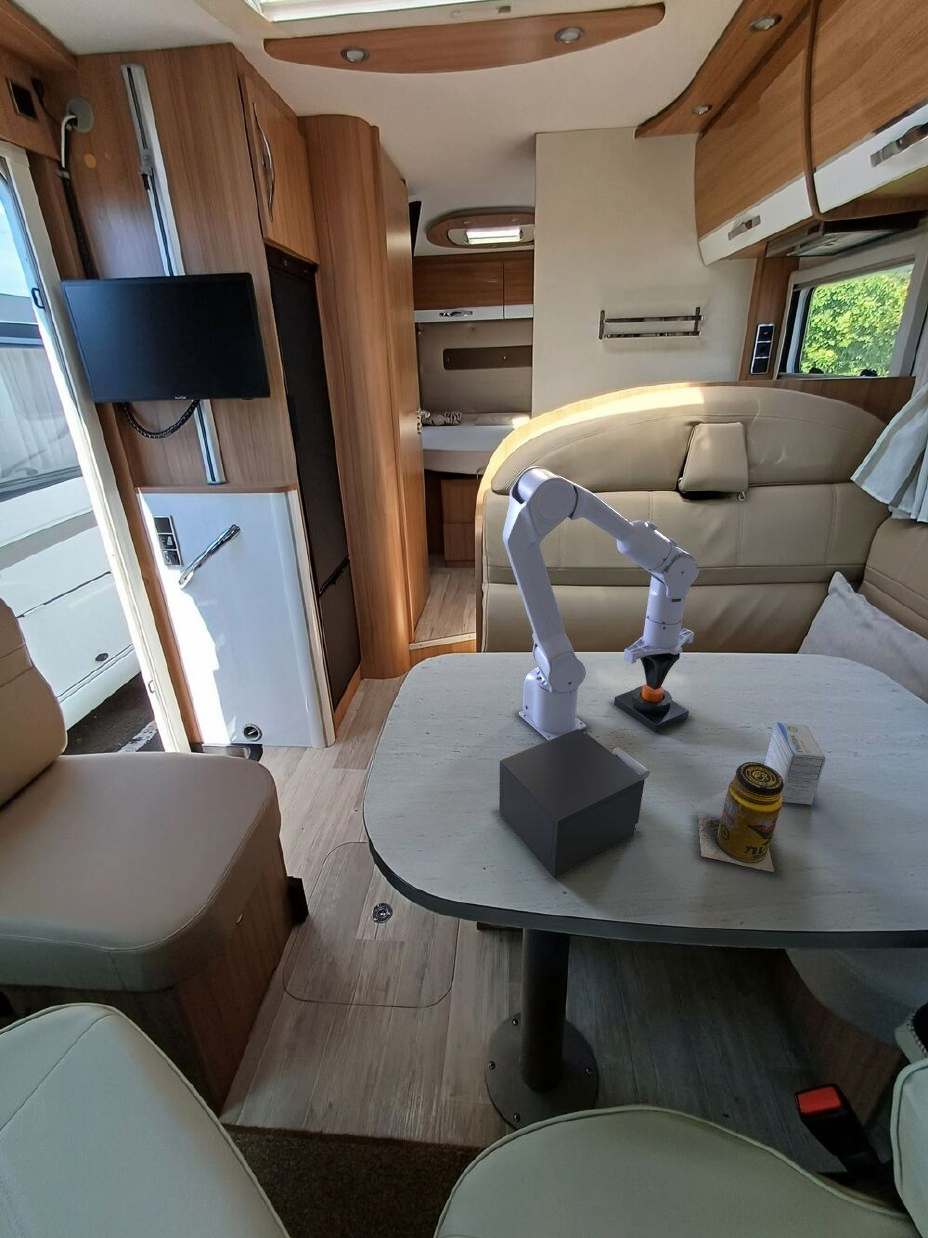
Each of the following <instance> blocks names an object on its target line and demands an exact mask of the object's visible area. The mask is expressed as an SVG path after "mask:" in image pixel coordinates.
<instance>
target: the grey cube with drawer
mask: <svg viewBox="0 0 928 1238" xmlns="http://www.w3.org/2000/svg"><path fill="white" fill-rule="evenodd" d="M585 734H586V733H584V732H583V731H582V730H579V729H576V730H573V731H571V732H568V733H566V734H563V735H561V736H559V737H556V738H554V739H551V740H549V741H548V740H546V741H544V742H541V743H540V744H539V743H538V744H537V745H534V746H531V747H529V748H527V749H524V750H521V751H520V752H517V753H514V754H512V755H510V756H508V757H505V758H502V759H500V760H499V799H498V800H499V807H498V809H499V815H500V816H501V817H502V819H504V821H505V822H506V823H507V824H508V825H509V827H510V828H511V829H512V830H513V832H515V834H516V835H517V836H518V837H519V838H520V840H521V842H522V843H524V845H525V846H526V847H527V848H528V849H529V850H530V851H531V853H532V854H533V855H534V856H535V857H536V859H537V860H538V861H539V862H540V864H541V865H542V866H543V867H544V868H545V869H546V870H547V872H548V873H549V874H550V875H551V876H552V877H553V878H554V879H555V878H557V877H559V876H561V875H563V874H565V873H566V872H568V871H570V870H572V869H574V868H576V867H577V866H579V865H581V864H583V863H585V862H587V861H589V860H590V859H592V858H594V857H596V856H598V855H600V854H601V853H603V852H605V851H607V850H609V849H611V848H612V847H614V846H616V845H618V844H620V843H622V842H623V841H625V840H627V839H628V838H631V837H633V836H634V835H635V831H636V825H637V824H636V819H637V813H638V806H639V800H640V793H641V786H642V785H641V784H642V779H641V778H639V777H638V776H637V775H636V774H634V773H633V772H632V771H631V770H629V769H628V768H627V767H626V766H624V765H623V764H622V763H621V762H619V761H618V760H617V759H616V758H614V757H613V756H612V755H611V754H609V753H608V752H607V751H605V750H604V749H603V748H602V747H600V746H599V745H598V744H597V743H595V742H594V741H593V740H592V739H590V738H589V737H588V736H587V735H585Z"/></svg>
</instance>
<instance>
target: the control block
mask: <svg viewBox="0 0 928 1238" xmlns="http://www.w3.org/2000/svg"><path fill="white" fill-rule="evenodd" d="M644 685H645V684H644ZM644 685H643V684H642V685H640V686H637V687H635V688H634V689H631V690H629V691H626V692H624V693H622V694H621V693H620V694H618V695H615V697H614V701H613V705H614V706H616V707H617V708H619V709H620V710H621V711H623V712H624V713H626V714H627V715H628V716H630V717H631V718H633V719H635V720H636V721H637V722H639V723H640V724H641V725H643V726H645V727H646V728H647V729H649V730H650V731H652V732H653V733H655V734H656V733H658V732H660V731H663V730H665V729H667V728H669V727H671V726H674V725H676V724H678V723H680V722H683V721H685V720H687V719H688V717H689V714H690V713H689V712H690V710H688V709H687V708H685V707H683V706H682V705H681V704H679V703H677V702H675V701H674V700H673V697H672V695H671V693H670V692H669V691H668V690H666V689H664V694H663V699H662V701H660V702H651V701H647V700H645V699H644V698H642V689H643V686H644Z"/></svg>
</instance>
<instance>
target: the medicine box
mask: <svg viewBox="0 0 928 1238" xmlns="http://www.w3.org/2000/svg"><path fill="white" fill-rule="evenodd" d="M825 763H826V756H825V754H824V752H823V751H822V749H821V748H820V746H819V744H818V742H817V740H816V739H815V737H814V735H813V734H812V732H811V730H810V728H809V727H808V725H807V724H803V723H793V722H780V721H779V722H778V721H777V722H775V724H774V727H773V730H772V735H771V739H770V742H769V746H768V750H767V753H766V758H765V762H764V765H767V766H769V767H771V768H772V769H774V770H775V771H777V772H778V773H779V775H780V776H781V777H782V779H783V783H784V787H783V789H782V793H781V798H782V803H788V804H789V803H790V804H799V805H800V804H801V805H808V806H809V805H810V806H811V805H812V804H813V802H814V799H815V795H816V792H817V788H818V786H819V783H820V779H821V776H822V773H823V769H824V766H825Z"/></svg>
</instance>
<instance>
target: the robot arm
mask: <svg viewBox="0 0 928 1238" xmlns="http://www.w3.org/2000/svg"><path fill="white" fill-rule="evenodd" d="M508 503H509V504H508V508H507V513H506V517H505V522H504V525H503V526H504V527H503V530H502V542H503V545H504V547H505V550H506V554H507V556H508V560H509V562H510V565H511V569H512V572H513V575H514V578H515V581H516V583H517V587H518V590H519V593H520V597H521V600H522V602H523V605H524V608H525V611H526V614H527V618H528V621H529V623H530V627H531V629H532V634H531V637H532V640H533V648H532V657H533V660H534V661H535V662H536V664H537V666H538V667H535V668H534V669H532V670H531V671H530V672H529V673H527V675H526V677H525V679H524V682H523V695H522V697H523V698H522V710H520V711H519V712H518V715H519V717H521V718H522V719H523V720H524V721H525V722H526V723H527V724H529V726H531V727H532V728H533V729H535V731H537V732H538V733H539V734H540V735H541V736H542V737H543V738H545V740H546V741H549V740H551V739H554V738H556V737H559V736H561V735H563V734H566V733H568V732H571V731H573V730H576V729H579V730H580V731H582V730H584V729H586V728H587V724H586V723H584V721H582V720H580V718H578V717H577V707H578V694H579V687H580V686H581V685H582V683H583V682H584V681H585V678H586V673H587V670H586V666H585V664H584V663H583V662H582V661H581V660H580V659H579V658H578V656H577V655H576V654H575V653H576V652H575V649H574V648H573V646H572V643H571V641H570V640H569V637H568V635H567V633H566V630H565V627H564V624H563V620H562V617H561V614H560V610H559V607H558V604H557V600H556V597H555V593H554V590H553V586H552V583H551V580H550V577H549V573H548V570H547V567H546V563H545V560H544V557H543V553H542V549H541V543H542V542H543V540H545V538H546V536H547V535H548V534H550V533H551V532H552V531H553V530H554V529H555V528H557V527H558V526H560V524H561V523H563V522H564V521H565V520H566V519H569V520H570V521H575V520H578V519H579V520H580V519H581V518H584V519H586V520H587V521H589V522H590V523H592V524H594V525H595V526H596V527H598V528H599V529H601V530H603V531H604V532H605V533H607V534H608V535H610V536H611V537H614V538H615V540H616V548H617V550H618V552H619V553H620V554H622V555H623V556H624V557H627V558H628V559H629V560H631V561H632V562H634V563H635V564H636V565H638V566H639V567H641V568H643V569H644V570H645V571H647V572H648V574H652V575H651V578H650V584H649V592H648V600H647V605H646V606H647V607H646V613H645V621H644V627H643V635H642V636H641V637H639V639H637V640H636V641H635V642H633V644H631V645H630V646H629V647H626V648H624V651H623V660H624V661H626V662H628V663H630V664H632V665H633V664H636V663H637V660H639V659H640V661H641V664H642V668H643V671H644V676H645V682H646V683H645V684H647V686H649V687H651V688H652V689H654V690H656V689H659V688H660V687H662V685H663V684H664V682H665V679H666V678H667V675H668V673H669V672H670V670H671V668H673V666H674V665H675V664H676V663H677V661H679V659H680V657H681V653H683V648H682V646H683V645H684V644H685V643H687V644H692V643H693V642H694V637H695V632H694V631H693V630H690V629H688V628H682V624H683V619H684V613H685V608H686V607H685V606H686V601H687V595H689V591H690V587H691V586H692V584H693V583H694V582H695V581H696V580H697V578H698V576H699V574H700V569H698V568H697V566H698V565H697V562H696V559H695V557H694V556H693V555H692V554H691V553H689V552H687V551H685V550H683V549H682V548H680V547H678V545H679V543H678V541H677V540H675V539H674V538H672V537H670V538H667V537H666V536H665V535H663V534H662V533H660V532H659V531H658V530H657V529H658V525H657V524H655V523H654V522H652V521H651V520H647V521H644V520H639V519H638V520H633V521H629V520H628V519H626V518H625V517H623V516H622V515H621V514H620V513H618V511H616V510H615V509H613V508H612V507H611V506H610V505H608V504H607V503H606V502H604V501H603V500H602V499H601V498H599V497H598V496H597V495H595V494H594V493H593V492H592V491H590V490H588V489H586V488H585V487H583V486H581V485H579V484H577V483H575V482H573V481H571V480H569V479H567V478H565V477H563V476H561V475H558V474H554V473H553V472H552V471H551V470H549V469H548V468H547V467H544V466H540V465H535V466H530V467H528V468H526V469H525V470H523V471H522V472H521V473H520V475H519V476H518V477H517V479H516V480H515V482H514V484H513V485H512V486H511V488H510V489H509V502H508Z"/></svg>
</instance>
